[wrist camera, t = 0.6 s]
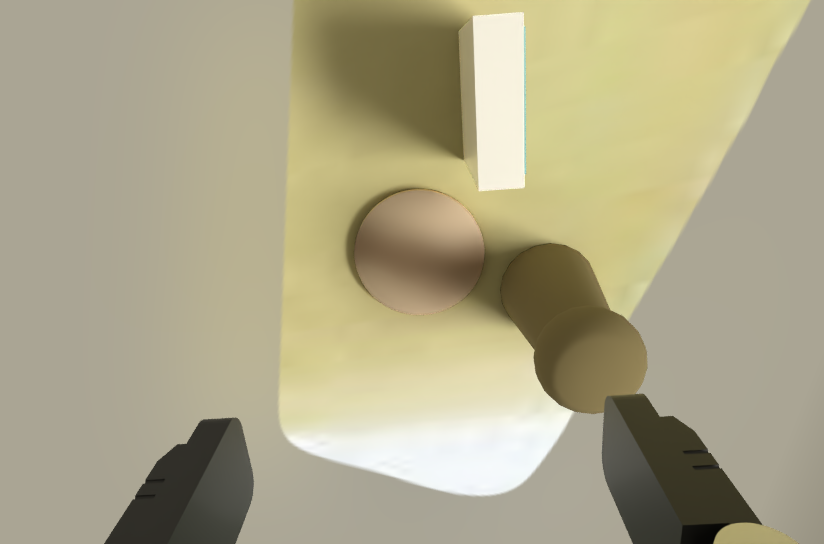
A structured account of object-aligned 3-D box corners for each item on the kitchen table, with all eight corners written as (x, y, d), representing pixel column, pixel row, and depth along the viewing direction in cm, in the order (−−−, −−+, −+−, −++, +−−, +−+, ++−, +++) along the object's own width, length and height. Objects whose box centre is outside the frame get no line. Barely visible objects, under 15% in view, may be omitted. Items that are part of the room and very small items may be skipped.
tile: (458, 31, 30) (472, 16, 22) (497, 28, 30) (527, 11, 22) (463, 160, 33) (478, 191, 24) (500, 157, 33) (528, 187, 24)
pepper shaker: (487, 318, 36) (514, 416, 26) (519, 232, 34) (561, 301, 24) (574, 341, 37) (634, 448, 26) (610, 258, 35) (691, 337, 24)
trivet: (348, 193, 34) (347, 195, 33) (481, 184, 33) (482, 186, 33) (362, 314, 36) (361, 318, 36) (485, 307, 36) (486, 311, 35)
